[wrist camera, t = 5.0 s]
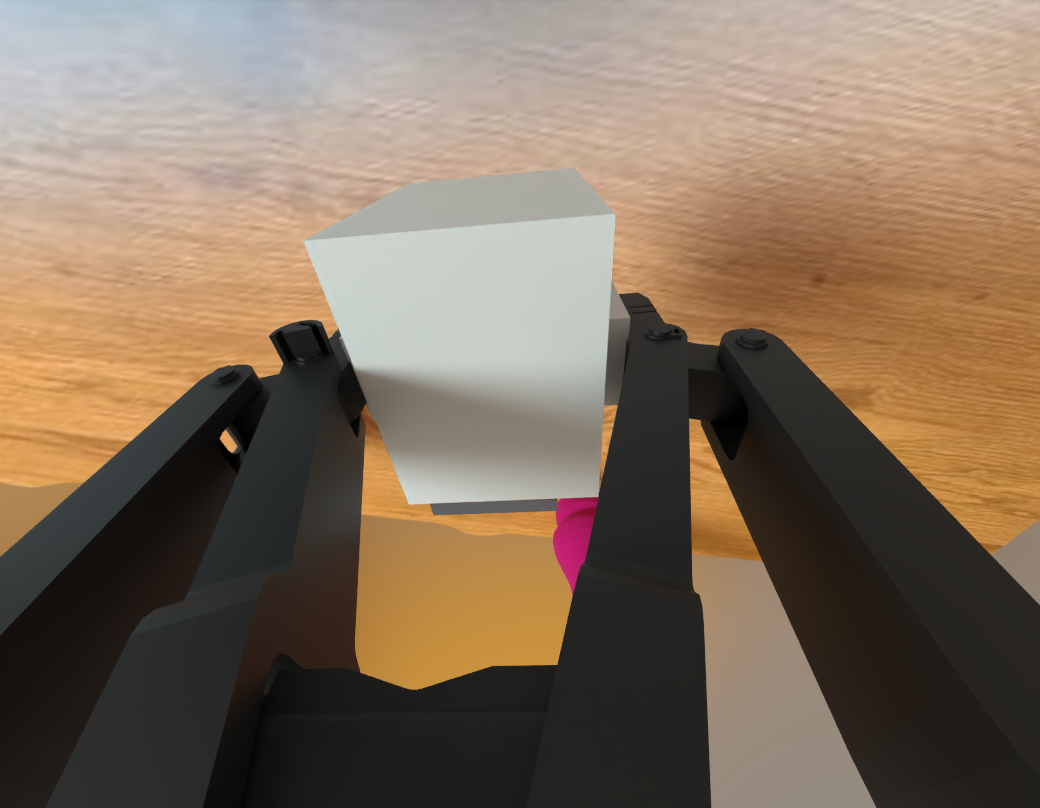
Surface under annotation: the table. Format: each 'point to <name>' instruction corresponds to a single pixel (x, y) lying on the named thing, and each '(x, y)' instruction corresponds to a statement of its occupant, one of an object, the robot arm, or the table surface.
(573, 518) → the pepper mill
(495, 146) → the table surface
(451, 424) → the block
